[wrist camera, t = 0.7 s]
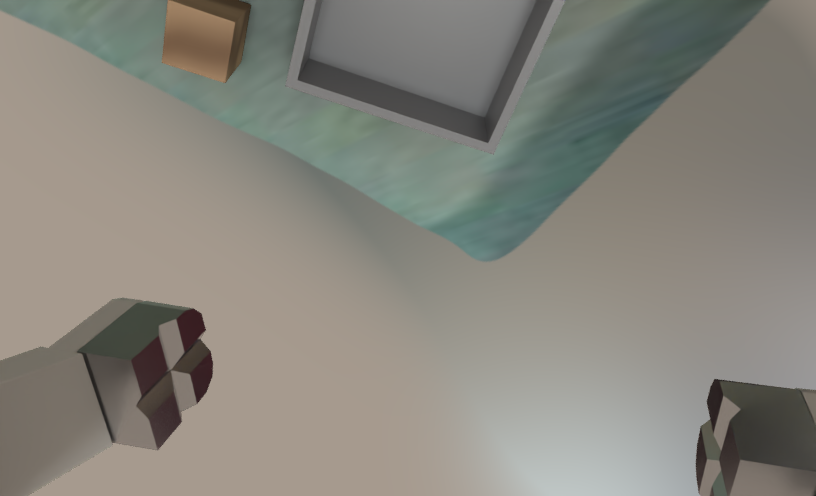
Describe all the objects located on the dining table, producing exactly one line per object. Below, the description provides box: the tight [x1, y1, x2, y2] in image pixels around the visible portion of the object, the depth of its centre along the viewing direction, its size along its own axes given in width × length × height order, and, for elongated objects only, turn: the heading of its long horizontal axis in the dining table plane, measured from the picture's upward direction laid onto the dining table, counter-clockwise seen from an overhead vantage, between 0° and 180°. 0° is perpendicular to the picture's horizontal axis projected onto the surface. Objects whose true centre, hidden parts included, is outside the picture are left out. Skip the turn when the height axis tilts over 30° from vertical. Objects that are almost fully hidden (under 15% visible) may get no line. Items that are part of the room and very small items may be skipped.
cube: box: [162, 0, 251, 83], centre depth 50 cm, size 5×5×5 cm
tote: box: [285, 0, 566, 155], centre depth 48 cm, size 14×18×6 cm
